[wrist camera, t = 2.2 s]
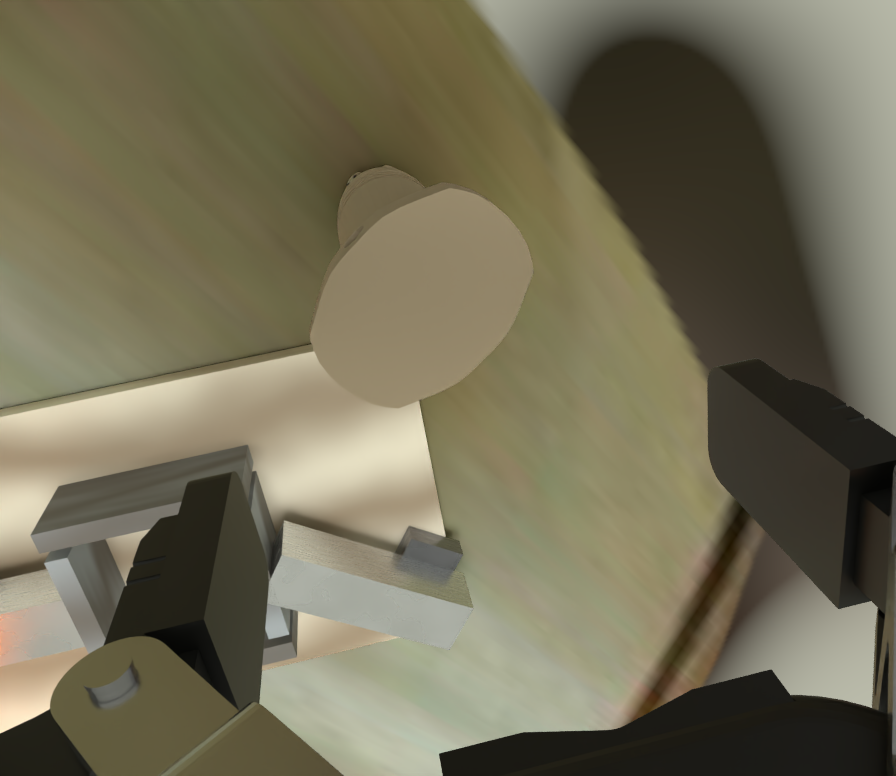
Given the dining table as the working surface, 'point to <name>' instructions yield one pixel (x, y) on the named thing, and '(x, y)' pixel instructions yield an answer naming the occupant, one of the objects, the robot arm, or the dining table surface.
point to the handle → (416, 287)
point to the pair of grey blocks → (291, 591)
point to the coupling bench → (189, 458)
